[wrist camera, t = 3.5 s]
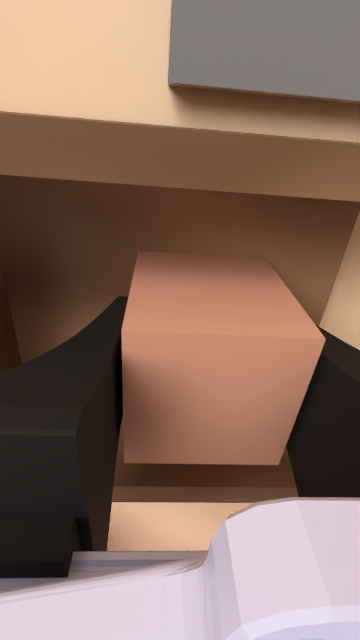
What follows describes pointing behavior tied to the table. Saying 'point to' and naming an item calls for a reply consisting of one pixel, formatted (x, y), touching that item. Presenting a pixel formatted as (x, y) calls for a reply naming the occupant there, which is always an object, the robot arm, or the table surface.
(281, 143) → the caddy
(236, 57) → the coaster
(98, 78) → the table surface
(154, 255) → the block
